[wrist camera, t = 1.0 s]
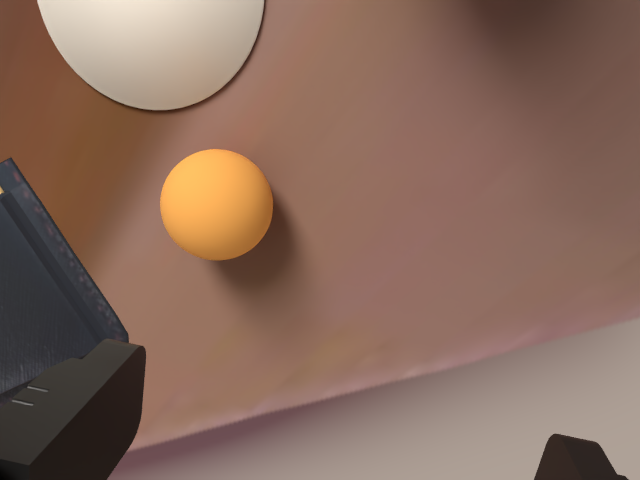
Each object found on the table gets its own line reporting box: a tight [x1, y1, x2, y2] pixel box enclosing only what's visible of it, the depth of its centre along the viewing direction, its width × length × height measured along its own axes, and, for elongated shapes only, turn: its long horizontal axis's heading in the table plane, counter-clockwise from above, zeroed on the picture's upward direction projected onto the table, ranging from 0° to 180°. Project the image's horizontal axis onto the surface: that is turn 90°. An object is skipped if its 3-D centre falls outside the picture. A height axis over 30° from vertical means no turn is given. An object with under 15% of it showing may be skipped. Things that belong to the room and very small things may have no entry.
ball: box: [160, 149, 273, 260], centre depth 29 cm, size 6×6×6 cm
